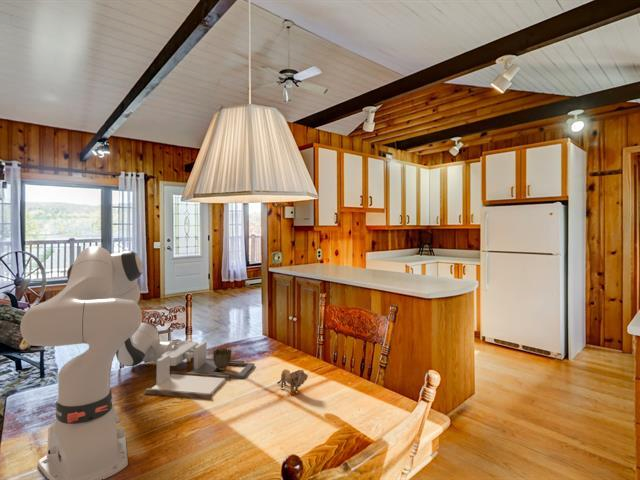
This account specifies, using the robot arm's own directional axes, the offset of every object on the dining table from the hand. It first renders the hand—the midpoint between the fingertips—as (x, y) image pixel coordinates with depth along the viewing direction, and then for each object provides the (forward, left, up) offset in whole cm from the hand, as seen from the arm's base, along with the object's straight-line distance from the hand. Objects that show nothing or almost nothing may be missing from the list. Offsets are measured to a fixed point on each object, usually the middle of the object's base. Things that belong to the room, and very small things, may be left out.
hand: (198, 354), depth 148 cm
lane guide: (-9, +3, -6) cm, 11 cm away
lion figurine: (-41, -17, -6) cm, 45 cm away
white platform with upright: (-15, +10, -6) cm, 19 cm away
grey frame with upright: (-8, -7, -6) cm, 13 cm away
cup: (-8, -7, -6) cm, 12 cm away
